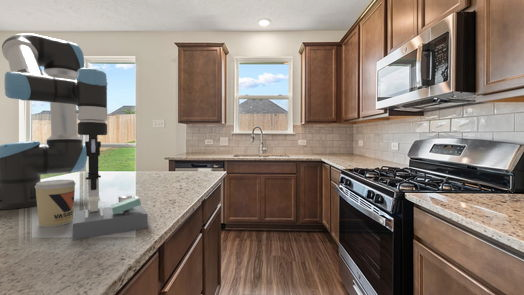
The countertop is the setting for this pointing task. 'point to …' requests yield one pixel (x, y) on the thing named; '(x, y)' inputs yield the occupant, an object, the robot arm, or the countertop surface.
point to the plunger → (124, 198)
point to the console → (108, 221)
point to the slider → (93, 203)
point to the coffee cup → (55, 202)
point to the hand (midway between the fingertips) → (93, 200)
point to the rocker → (125, 205)
